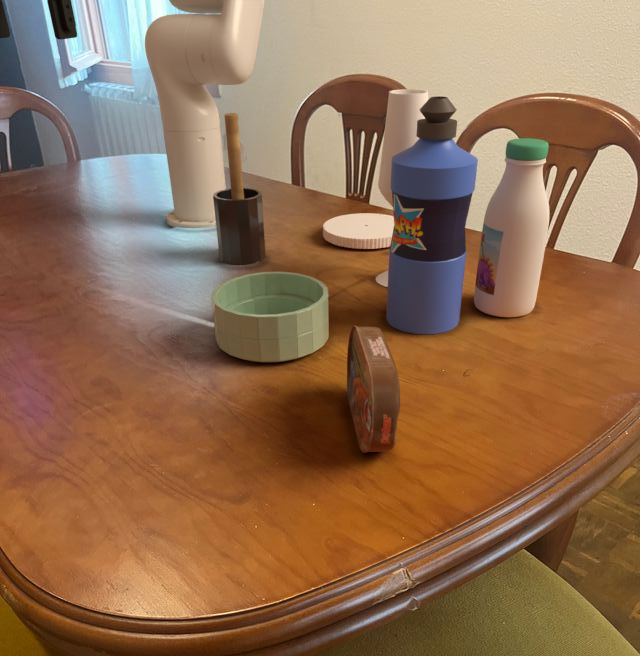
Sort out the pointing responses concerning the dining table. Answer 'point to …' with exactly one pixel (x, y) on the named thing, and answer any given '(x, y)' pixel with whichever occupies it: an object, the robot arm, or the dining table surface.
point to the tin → (372, 389)
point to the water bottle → (429, 225)
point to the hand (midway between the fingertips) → (32, 38)
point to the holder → (240, 227)
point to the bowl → (271, 316)
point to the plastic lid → (360, 230)
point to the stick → (234, 155)
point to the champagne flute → (398, 138)
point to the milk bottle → (514, 234)
